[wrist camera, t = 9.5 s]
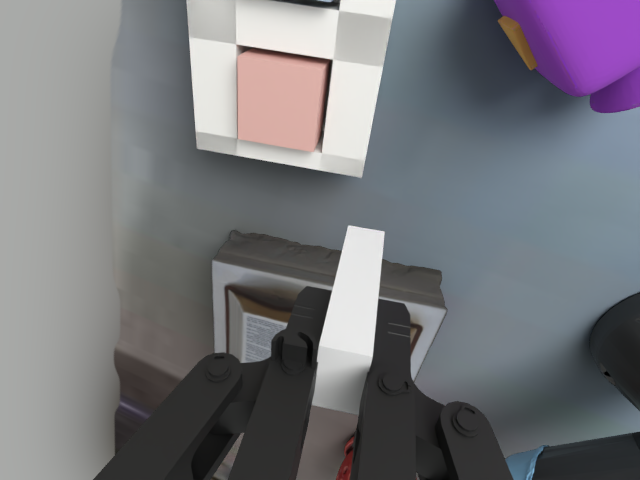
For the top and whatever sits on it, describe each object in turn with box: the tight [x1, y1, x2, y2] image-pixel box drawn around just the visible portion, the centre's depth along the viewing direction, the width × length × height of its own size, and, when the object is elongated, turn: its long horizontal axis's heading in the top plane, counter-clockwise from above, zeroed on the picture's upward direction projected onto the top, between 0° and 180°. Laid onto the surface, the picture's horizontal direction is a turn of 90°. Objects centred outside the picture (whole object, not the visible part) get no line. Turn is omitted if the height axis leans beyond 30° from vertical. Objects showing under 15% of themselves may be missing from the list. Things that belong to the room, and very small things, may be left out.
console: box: [187, 0, 396, 178], centre depth 30 cm, size 20×14×6 cm
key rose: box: [237, 47, 330, 152], centre depth 31 cm, size 6×6×4 cm
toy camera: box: [494, 0, 640, 113], centre depth 24 cm, size 11×14×10 cm
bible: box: [212, 230, 447, 382], centre depth 46 cm, size 23×27×10 cm
